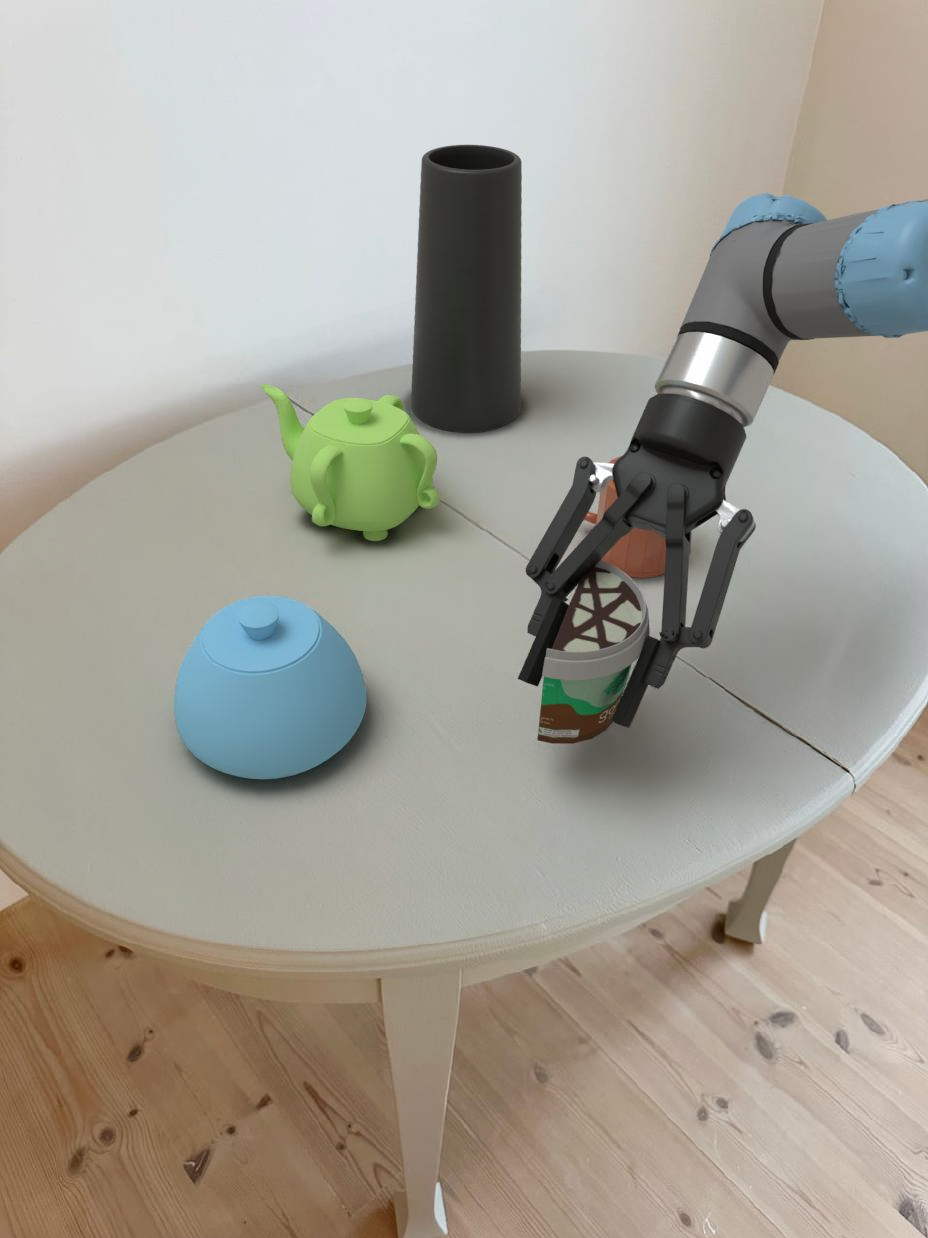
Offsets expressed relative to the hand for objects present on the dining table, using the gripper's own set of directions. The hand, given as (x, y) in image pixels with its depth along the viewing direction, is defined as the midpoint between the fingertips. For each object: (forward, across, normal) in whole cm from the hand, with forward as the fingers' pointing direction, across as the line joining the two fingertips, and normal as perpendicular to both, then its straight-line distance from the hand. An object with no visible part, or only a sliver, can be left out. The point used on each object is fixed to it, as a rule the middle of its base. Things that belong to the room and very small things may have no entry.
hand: (573, 702), depth 69 cm
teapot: (-8, +36, -19) cm, 42 cm away
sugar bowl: (+12, +22, 0) cm, 25 cm away
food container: (0, 0, -5) cm, 5 cm away
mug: (-15, +10, -26) cm, 32 cm away
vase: (-27, +39, -38) cm, 61 cm away
